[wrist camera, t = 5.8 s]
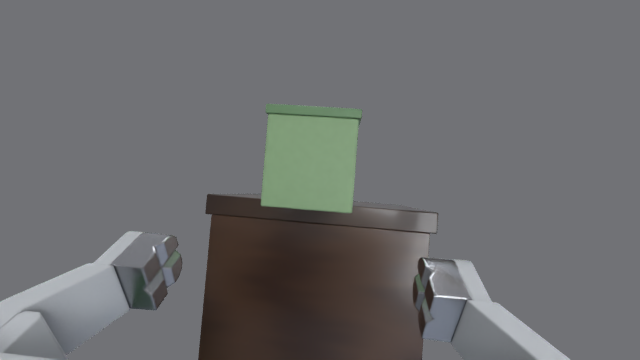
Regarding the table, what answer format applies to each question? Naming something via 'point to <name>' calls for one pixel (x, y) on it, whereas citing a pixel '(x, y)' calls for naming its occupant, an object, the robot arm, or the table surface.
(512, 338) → the robot arm
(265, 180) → the storage box
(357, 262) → the drawer unit
